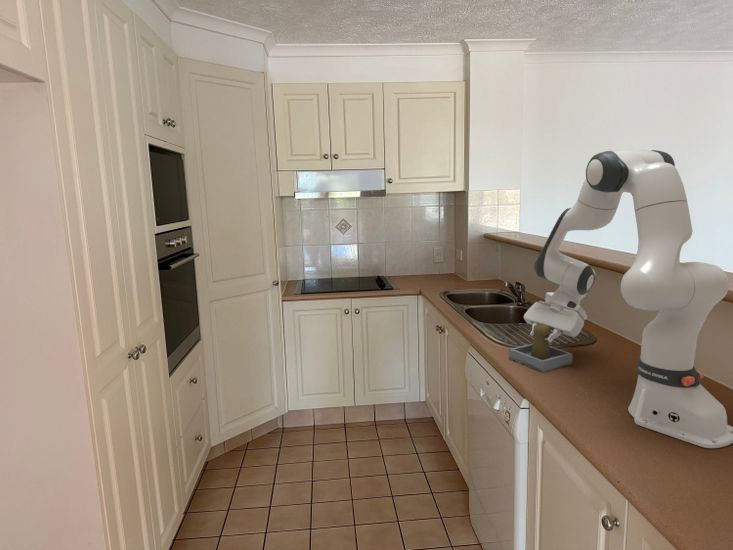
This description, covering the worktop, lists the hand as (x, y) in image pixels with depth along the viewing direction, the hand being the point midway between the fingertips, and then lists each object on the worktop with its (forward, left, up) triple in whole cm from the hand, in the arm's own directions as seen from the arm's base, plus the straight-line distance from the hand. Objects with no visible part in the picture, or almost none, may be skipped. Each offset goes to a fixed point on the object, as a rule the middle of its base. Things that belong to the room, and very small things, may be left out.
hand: (539, 338), depth 154 cm
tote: (0, -1, -8) cm, 8 cm away
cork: (0, -1, -7) cm, 7 cm away
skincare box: (+22, -34, -8) cm, 41 cm away
